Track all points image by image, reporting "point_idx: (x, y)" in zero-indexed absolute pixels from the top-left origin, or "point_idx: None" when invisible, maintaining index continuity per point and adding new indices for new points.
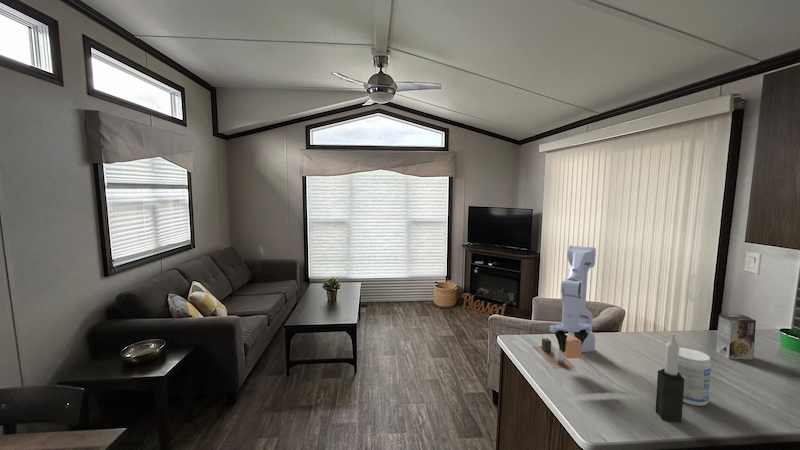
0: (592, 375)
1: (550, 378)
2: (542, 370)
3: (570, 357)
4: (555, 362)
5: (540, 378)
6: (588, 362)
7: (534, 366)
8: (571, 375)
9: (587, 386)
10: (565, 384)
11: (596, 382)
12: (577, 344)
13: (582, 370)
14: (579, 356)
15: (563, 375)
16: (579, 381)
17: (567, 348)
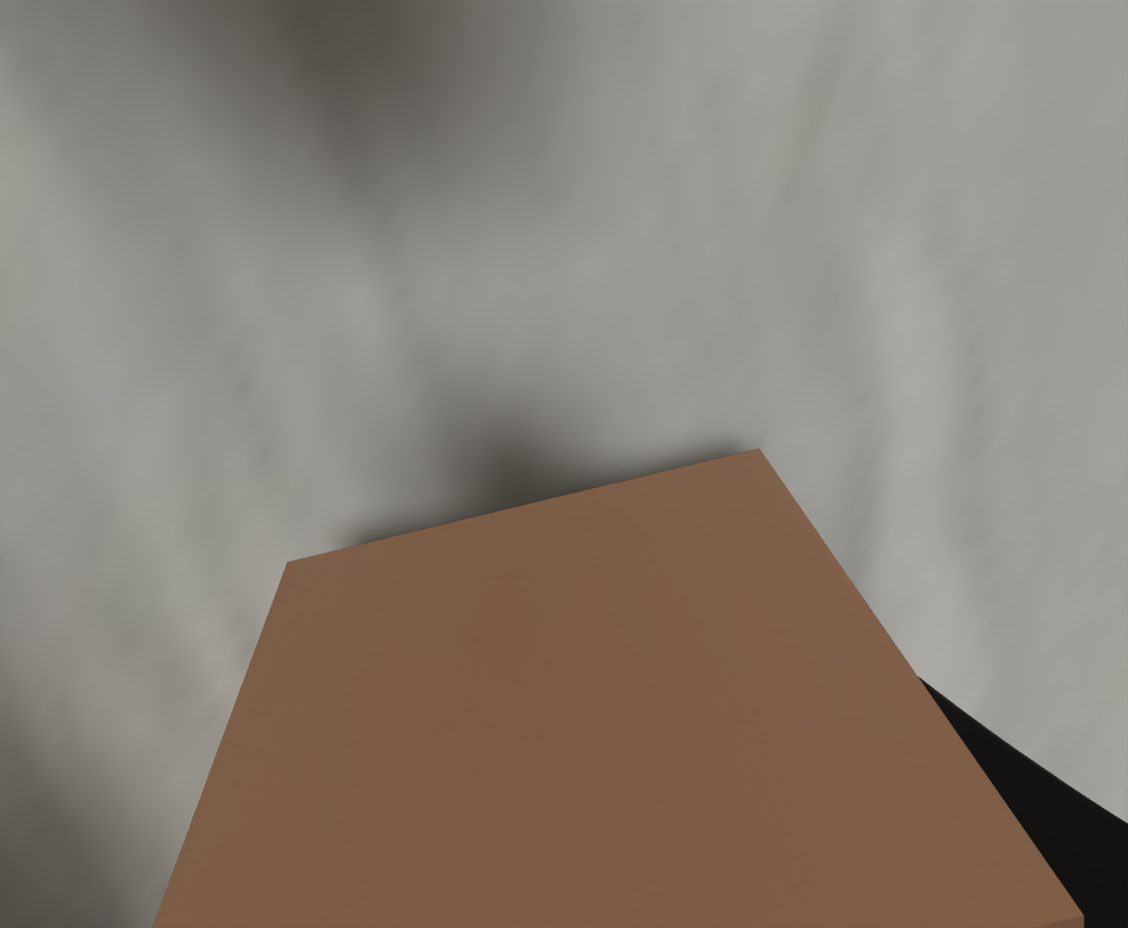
0: (102, 501)
1: (932, 272)
2: (953, 531)
3: (646, 489)
4: None
5: (1121, 244)
6: (79, 896)
7: (1030, 637)
8: (496, 441)
9: (303, 53)
10: (732, 74)
11: (79, 249)
12: (377, 913)
13: (244, 641)
14: (335, 570)
15: (645, 419)
16: (411, 239)
17: (886, 647)
